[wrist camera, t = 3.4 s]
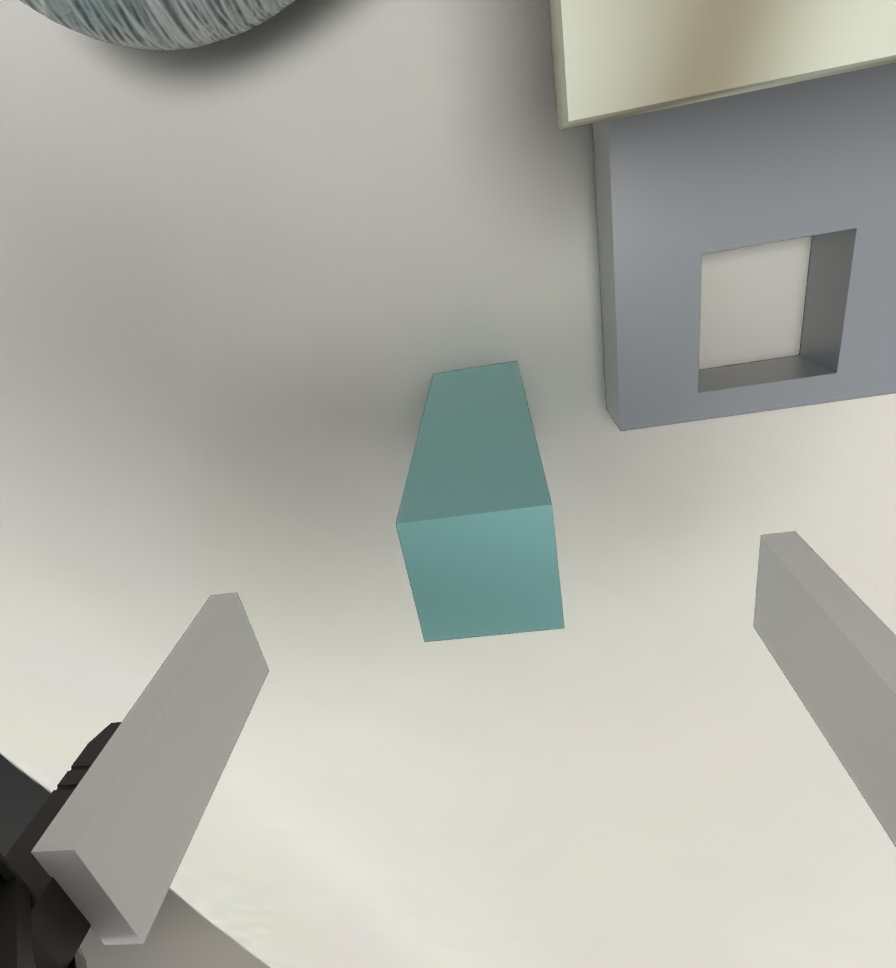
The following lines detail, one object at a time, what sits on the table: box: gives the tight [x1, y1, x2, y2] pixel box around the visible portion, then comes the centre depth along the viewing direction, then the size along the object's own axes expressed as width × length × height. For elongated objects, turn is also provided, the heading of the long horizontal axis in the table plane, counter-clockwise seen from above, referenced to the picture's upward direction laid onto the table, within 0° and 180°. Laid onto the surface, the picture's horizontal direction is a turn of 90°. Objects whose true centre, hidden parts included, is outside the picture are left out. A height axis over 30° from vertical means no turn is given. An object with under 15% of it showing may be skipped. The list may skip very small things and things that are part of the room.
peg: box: [396, 361, 564, 642], centre depth 21 cm, size 4×4×14 cm
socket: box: [593, 62, 896, 431], centre depth 22 cm, size 12×14×3 cm
